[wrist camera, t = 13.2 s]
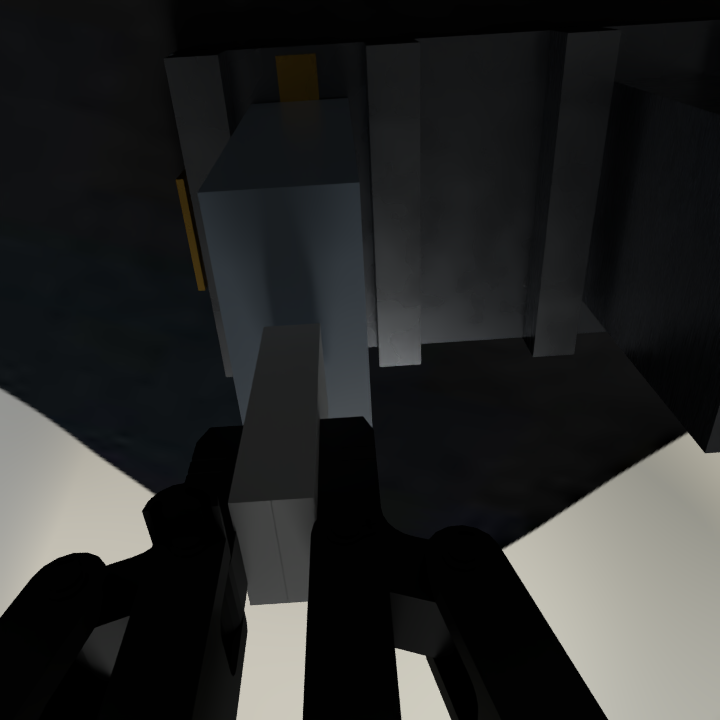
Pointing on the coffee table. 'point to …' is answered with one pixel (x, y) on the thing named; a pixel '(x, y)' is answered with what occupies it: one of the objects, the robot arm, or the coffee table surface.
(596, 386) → the coffee table surface
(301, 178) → the gray rectangular block
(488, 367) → the coffee table surface
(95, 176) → the coffee table surface
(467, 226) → the rack
